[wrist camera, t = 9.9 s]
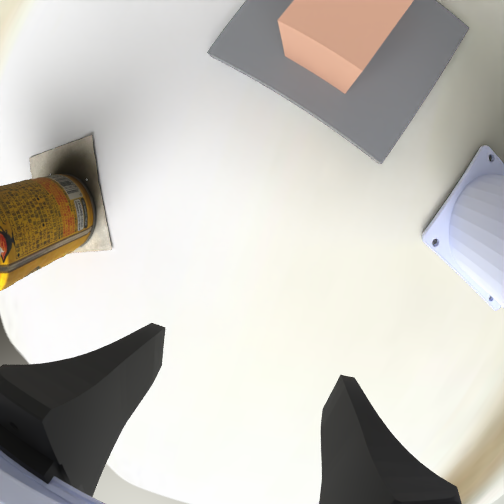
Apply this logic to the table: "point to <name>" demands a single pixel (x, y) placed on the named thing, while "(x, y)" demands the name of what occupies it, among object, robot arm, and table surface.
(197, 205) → the table surface
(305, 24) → the block
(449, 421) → the table surface
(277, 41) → the plate
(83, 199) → the condiment
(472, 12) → the table surface
